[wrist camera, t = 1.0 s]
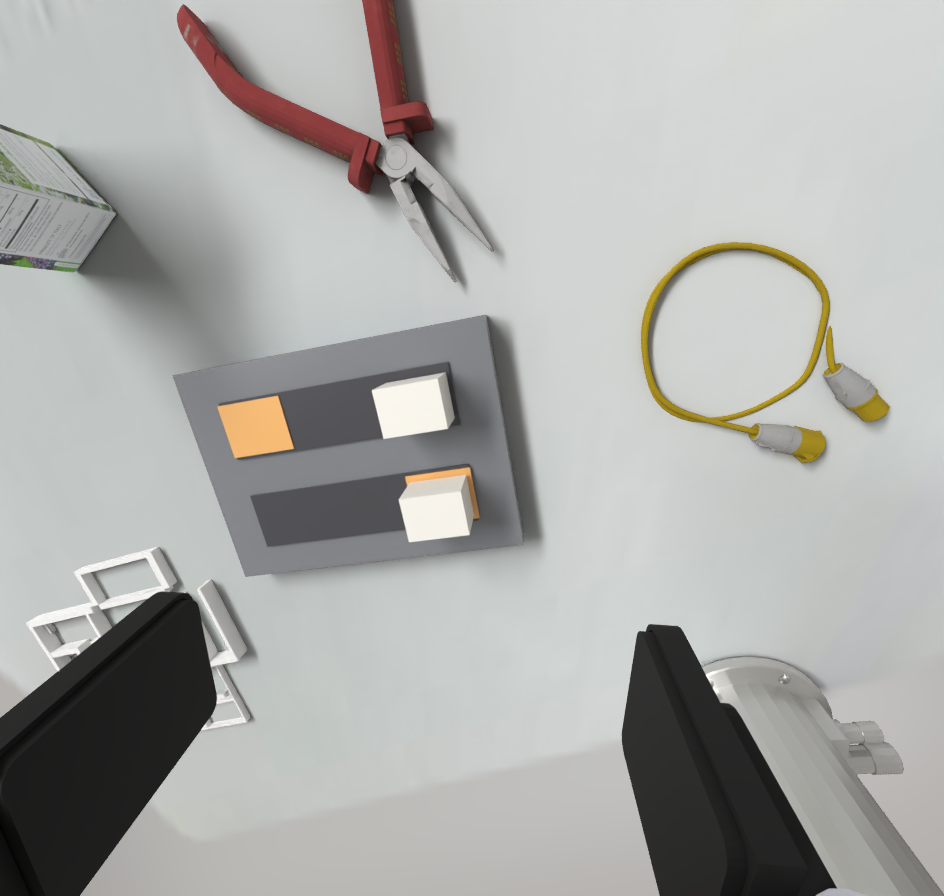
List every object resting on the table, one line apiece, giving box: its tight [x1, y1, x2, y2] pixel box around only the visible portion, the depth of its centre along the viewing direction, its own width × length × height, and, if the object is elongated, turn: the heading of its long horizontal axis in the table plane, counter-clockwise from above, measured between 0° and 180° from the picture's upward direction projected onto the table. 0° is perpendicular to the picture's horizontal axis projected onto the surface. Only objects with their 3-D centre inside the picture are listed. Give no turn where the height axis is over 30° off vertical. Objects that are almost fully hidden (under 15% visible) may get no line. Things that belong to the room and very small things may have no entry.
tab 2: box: [399, 475, 474, 542], centre depth 29 cm, size 4×3×3 cm
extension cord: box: [641, 242, 889, 463], centre depth 28 cm, size 12×16×2 cm
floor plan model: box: [26, 547, 250, 730], centre depth 40 cm, size 19×25×2 cm
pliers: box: [177, 0, 493, 282], centre depth 26 cm, size 12×21×3 cm, turn 38°
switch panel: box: [173, 315, 523, 577], centre depth 32 cm, size 22×16×2 cm
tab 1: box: [372, 372, 455, 439], centre depth 28 cm, size 4×3×3 cm
